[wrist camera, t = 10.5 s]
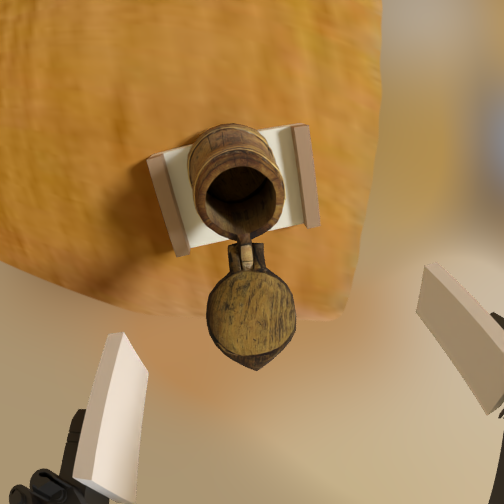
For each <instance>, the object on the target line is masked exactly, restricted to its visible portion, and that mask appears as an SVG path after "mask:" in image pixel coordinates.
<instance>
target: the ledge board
mask: <svg viewBox="0 0 504 504" xmlns="http://www.w3.org/2000/svg"><path fill="white" fill-rule="evenodd" d="M257 131H258V132H259V133H260V134H261V135H263V136H264V137H265V138H266V140H267V143H268V145H269V147H270V148H271V149H272V152H273V155H274V157H275V160H276V164H277V166H278V167H279V170H280V172H281V175H282V177H283V180H284V184H285V193H286V200H285V203H284V207H283V210H282V214H281V216H280V218H279V220H278V222H277V223H276V224H275V225H274V226H273V227H272V228H271V229H270V230H275V229H279V228H284V227H289V226H294V225H298V224H303V223H304V224H305V226H306V227H307V229H309V228H313V227H318V226H320V215H319V205H318V195H317V186H316V177H315V169H314V161H313V153H312V145H311V138H310V131H309V125H306V124H302V123H297V124H290V125H284V126H277V127H271V128H266V129H260V130H257ZM191 147H192V144H190V145H186V146H182V147H178V148H175V149H171V150H167V151H164V152H160V153H156V154H153V155H151V156H150V157H149V158H148V159H147V160H146V161H147V164H148V168H149V171H150V175H151V178H152V182H153V185H154V188H155V192H156V195H157V198H158V202H159V205H160V208H161V211H162V215H163V218H164V221H165V224H166V227H167V230H168V233H169V236H170V239H171V242H172V245H173V248H174V251H175V254H176V257H180V256H185V255H189V254H190V248H193V247H197V246H202V245H206V244H210V243H215V242H219V241H224V240H229V239H228V238H225V237H223V236H220V235H218V234H217V233H215V232H214V231H213V230H211V229H210V228H208V227H207V226H206V225H205V224H204V223H203V222H202V220H201V218H200V217H199V215H198V214H197V212H196V209H195V205H194V201H193V193H192V188H191V186H190V183H189V179H188V171H187V158H188V153H189V151H190V149H191ZM270 230H268V231H270Z"/></svg>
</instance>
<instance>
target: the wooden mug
mask: <svg viewBox="0 0 504 504" xmlns="http://www.w3.org/2000/svg"><path fill="white" fill-rule="evenodd" d="M187 171H188V179H189V183H190V186H191V188H192V193H193V201H194V205H195V209H196V212H197V214H198V215H199V217H200V218H201V220H202V222H203V223H204V224H205V225H206V226H207V227H208V228H210V229H211V230H213V231H214V232H215V233H217V234H218V235H220V236H223V237H225V238H228V239H231V240H235V241H237V243H235V244H232V245H228V258H229V268H230V272H229V273H228V274H227V275H226V276H225V277H224V278H222V279H221V280H220V281H219V282H218V283H217V284H216V286H215V287H214V288H213V290H212V291H211V293H210V294H209V297H208V302H207V311H206V319H207V326H208V330H209V334H210V336H211V338H212V340H213V341H214V343H215V345H216V346H217V347H218V348H219V349H220V350H221V351H222V352H223V353H224V354H225V355H226V356H228V357H229V358H230V359H232V360H234V361H236V362H238V363H239V364H241V365H243V366H245V367H248V368H250V369H253V370H255V371H258V370H259V369H260V368H262V367H263V366H265V365H266V364H267V363H269V362H270V361H271V360H272V359H274V357H276V356H277V355H278V354H279V353H280V352H281V351H282V350H283V349H284V348H285V347H286V345H287V344H288V343H289V342H290V341H291V339H292V337H293V335H294V333H295V331H296V311H295V305H294V300H293V295H292V293H291V291H290V289H289V287H288V285H287V284H286V283H285V282H284V281H283V280H282V279H281V278H280V277H278V276H277V275H275V274H274V273H273V272H271V271H270V270H269V269H267V268H266V265H265V259H264V243H252V241H251V239H253V238H255V237H258V236H260V235H262V234H263V233H265V232H267V231H268V230H270V229H271V228H272V227H273V226H274V225H275V224H276V223H277V222H278V220H279V218H280V216H281V214H282V210H283V207H284V203H285V200H286V193H285V184H284V180H283V177H282V175H281V172H280V170H279V167H278V166H277V164H276V160H275V157H274V155H273V152H272V149H271V148H270V147H269V145H268V143H267V140H266V138H265V137H264V136H263V135H261V134H260V133H259V132H258V131H257V130H256V129H253V128H250V127H248V126H245V125H240V124H234V123H232V124H221V125H218V126H216V127H213V128H210V129H209V130H207V131H206V132H204V133H203V134H201V135H200V136H199V137H198V138H197V140H196V141H195V142H194V143H193V144H192V147H191V149H190V151H189V153H188V158H187Z"/></svg>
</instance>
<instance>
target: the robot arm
mask: <svg viewBox="0 0 504 504" xmlns="http://www.w3.org/2000/svg"><path fill="white" fill-rule="evenodd" d="M416 313H417V314H418V316H419V317H420V318H421V320H422V321H423V322H424V324H425V325H426V326H427V328H428V329H429V330H430V332H431V333H432V334H433V336H434V337H435V338H436V340H437V341H438V343H439V344H440V345H441V347H442V348H443V350H444V351H445V352H446V354H447V355H448V357H449V358H450V360H451V361H452V362H453V364H454V365H455V367H456V368H457V370H458V371H459V373H460V374H461V375H462V377H463V378H464V380H465V382H466V383H467V384H468V386H469V388H470V389H471V391H472V392H473V394H474V395H475V397H476V399H477V400H478V402H479V403H480V405H481V407H482V408H483V410H484V411H485V413H486V415H489V414H490V413H492V412H493V411H494V410H496V409H497V408H499V407H500V406H501V405H502V403H503V402H504V318H503V317H501V316H499V315H498V314H496V313H494V312H493V313H491V314H489V313H488V312H487V311H486V310H485V309H484V308H483V307H482V306H481V305H480V303H479V302H478V301H477V300H476V299H475V298H474V297H473V296H472V295H471V294H470V293H469V292H468V291H467V290H466V289H465V288H464V287H463V286H462V285H461V284H460V283H459V282H458V281H457V280H456V279H455V278H454V277H453V276H452V275H451V274H450V273H449V272H447V270H445V269H444V268H443V267H442V266H441V265H440V264H439V263H438V262H435V263H432V264H428V265H425V266H424V272H423V278H422V284H421V289H420V295H419V300H418V305H417V309H416ZM148 375H149V373H148V371H147V369H146V368H145V366H144V365H143V363H142V362H141V360H140V359H139V357H138V355H137V353H136V352H135V350H134V348H133V347H132V345H131V343H130V342H129V340H128V338H127V337H126V335H125V333H124V332H120V333H113V334H108V337H107V340H106V343H105V347H104V350H103V353H102V357H101V359H100V363H99V366H98V369H97V373H96V376H95V380H94V383H93V387H92V390H91V394H90V398H89V401H88V405H87V409H79V410H78V411H77V413H76V414H75V416H74V417H73V419H72V422H71V425H70V430H69V432H70V433H69V434H68V437H67V443H66V446H65V450H64V455H63V460H62V465H61V470H60V474H59V476H58V475H56V474H55V473H53V472H52V471H50V470H48V469H40V470H37V471H36V472H35V473H34V474H33V475H32V477H31V480H30V489H28V488H27V487H25V486H23V485H16V486H14V487H13V488H12V490H11V491H10V495H9V503H10V504H109V499H111V500H113V501H115V502H118V503H125V504H136V486H137V472H138V460H139V448H140V438H141V428H142V419H143V411H144V403H145V395H146V389H147V382H148ZM503 415H504V409H503V410H502V412H501V413H500V415H499V418H501V417H502V416H503ZM488 504H504V433H503V440H502V447H501V453H500V459H499V463H498V468H497V473H496V477H495V481H494V485H493V489H492V493H491V496H490V500H489V503H488Z"/></svg>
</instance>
